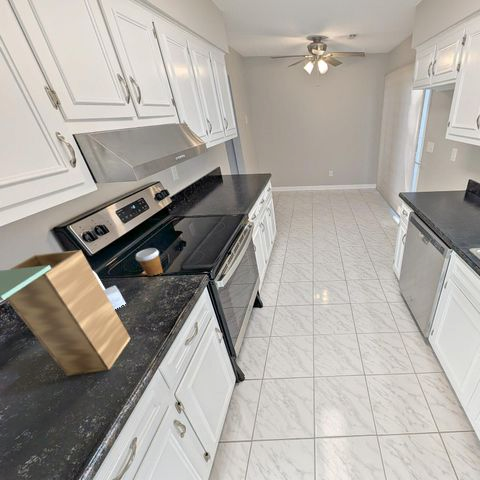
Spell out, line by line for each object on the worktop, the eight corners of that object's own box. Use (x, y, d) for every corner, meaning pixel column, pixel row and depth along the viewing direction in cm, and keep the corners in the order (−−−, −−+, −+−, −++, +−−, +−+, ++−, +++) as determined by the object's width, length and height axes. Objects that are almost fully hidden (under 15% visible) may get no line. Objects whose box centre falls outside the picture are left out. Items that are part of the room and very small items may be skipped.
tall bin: (66, 375, 75) (-10, 280, 60) (93, 343, 86) (35, 254, 70) (109, 369, 76) (45, 273, 61) (130, 338, 87) (81, 249, 71)
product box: (105, 306, 103) (96, 292, 100) (122, 298, 107) (115, 284, 104) (109, 313, 100) (100, 298, 96) (126, 304, 104) (119, 290, 100)
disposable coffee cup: (139, 278, 121) (129, 256, 116) (156, 267, 129) (147, 246, 124) (154, 280, 118) (144, 258, 113) (170, 269, 126) (162, 248, 121)
